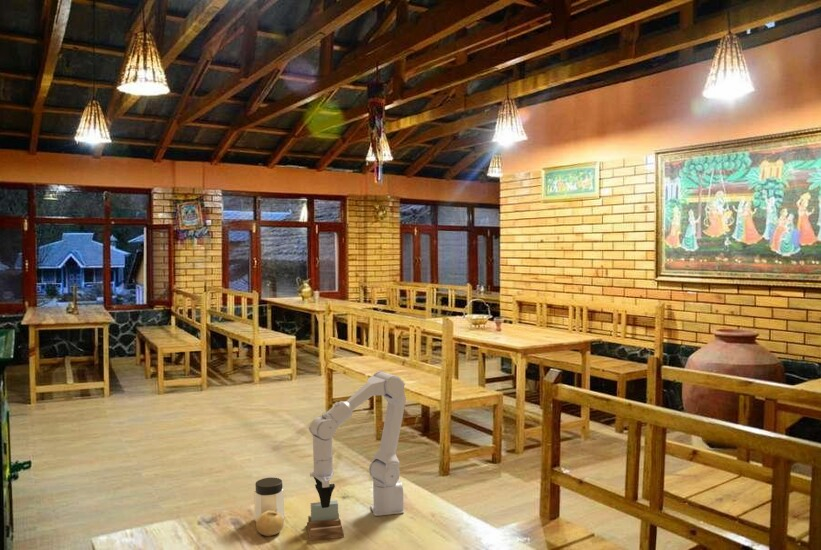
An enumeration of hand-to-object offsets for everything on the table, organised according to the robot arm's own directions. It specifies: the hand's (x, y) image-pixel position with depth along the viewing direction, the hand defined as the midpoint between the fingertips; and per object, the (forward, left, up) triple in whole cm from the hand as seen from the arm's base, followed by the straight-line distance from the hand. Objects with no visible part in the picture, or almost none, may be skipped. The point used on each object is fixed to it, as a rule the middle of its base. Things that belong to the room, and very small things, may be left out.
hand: (324, 502), depth 195 cm
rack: (0, +2, -8) cm, 8 cm away
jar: (+16, -10, -8) cm, 20 cm away
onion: (+16, -1, -8) cm, 18 cm away
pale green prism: (0, 0, -7) cm, 7 cm away
